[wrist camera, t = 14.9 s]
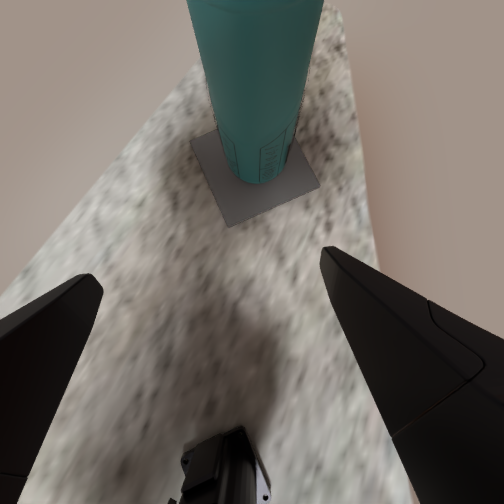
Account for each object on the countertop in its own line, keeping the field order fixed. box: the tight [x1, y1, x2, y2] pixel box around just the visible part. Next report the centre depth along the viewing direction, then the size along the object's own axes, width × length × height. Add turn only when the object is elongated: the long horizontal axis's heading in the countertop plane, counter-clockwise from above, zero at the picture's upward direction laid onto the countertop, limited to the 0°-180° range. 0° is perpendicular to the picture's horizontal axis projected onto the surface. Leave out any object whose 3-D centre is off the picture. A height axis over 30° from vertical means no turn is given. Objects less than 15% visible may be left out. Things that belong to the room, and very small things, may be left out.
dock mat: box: [190, 130, 320, 228], centre depth 23 cm, size 11×11×1 cm
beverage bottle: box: [187, 0, 324, 184], centre depth 13 cm, size 6×7×20 cm
